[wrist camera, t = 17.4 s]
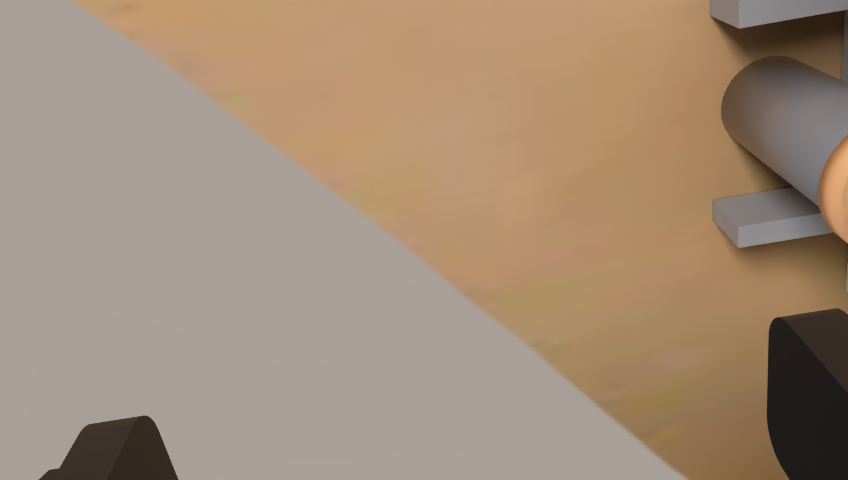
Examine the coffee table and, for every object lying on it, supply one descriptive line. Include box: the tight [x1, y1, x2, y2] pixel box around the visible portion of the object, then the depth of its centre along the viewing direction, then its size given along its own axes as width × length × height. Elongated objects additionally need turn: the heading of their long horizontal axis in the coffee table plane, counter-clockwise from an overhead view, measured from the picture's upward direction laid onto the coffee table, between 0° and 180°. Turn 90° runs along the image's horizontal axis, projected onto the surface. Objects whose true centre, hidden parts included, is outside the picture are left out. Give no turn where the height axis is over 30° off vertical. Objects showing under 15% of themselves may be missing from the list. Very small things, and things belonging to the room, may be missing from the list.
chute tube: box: [721, 56, 848, 243], centre depth 34 cm, size 6×6×12 cm
